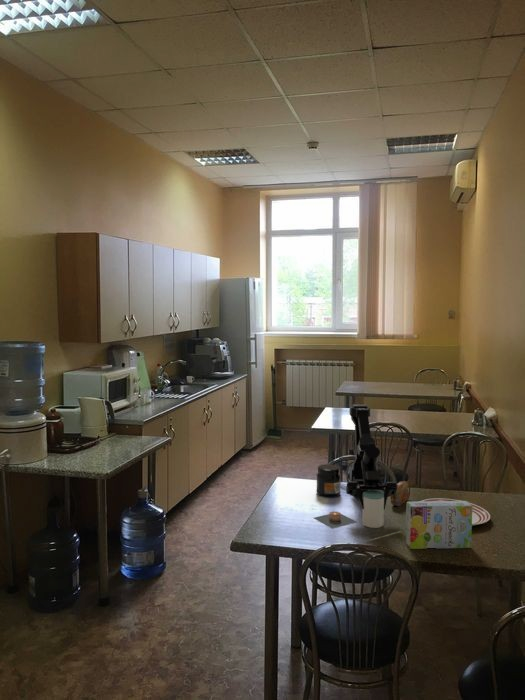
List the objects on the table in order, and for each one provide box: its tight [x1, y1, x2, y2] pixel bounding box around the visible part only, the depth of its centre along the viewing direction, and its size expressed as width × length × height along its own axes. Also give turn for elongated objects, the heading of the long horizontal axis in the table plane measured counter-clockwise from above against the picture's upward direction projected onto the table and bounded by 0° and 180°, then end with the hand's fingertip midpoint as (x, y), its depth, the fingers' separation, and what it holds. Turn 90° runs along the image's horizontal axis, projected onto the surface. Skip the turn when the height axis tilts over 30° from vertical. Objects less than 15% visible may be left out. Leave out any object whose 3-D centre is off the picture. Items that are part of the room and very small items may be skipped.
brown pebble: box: [328, 510, 342, 522], centre depth 215 cm, size 4×4×2 cm
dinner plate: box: [421, 497, 491, 527], centre depth 219 cm, size 27×27×3 cm
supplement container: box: [315, 463, 342, 498], centre depth 245 cm, size 10×10×12 cm
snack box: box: [405, 500, 473, 550], centre depth 193 cm, size 21×6×15 cm, turn 92°
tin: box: [390, 480, 411, 507], centre depth 235 cm, size 15×3×8 cm, turn 143°
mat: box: [313, 513, 358, 530], centre depth 215 cm, size 12×12×1 cm
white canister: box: [361, 490, 385, 529], centre depth 211 cm, size 8×8×12 cm
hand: (373, 509), depth 210 cm, fingers closed on white canister, 7 cm apart
